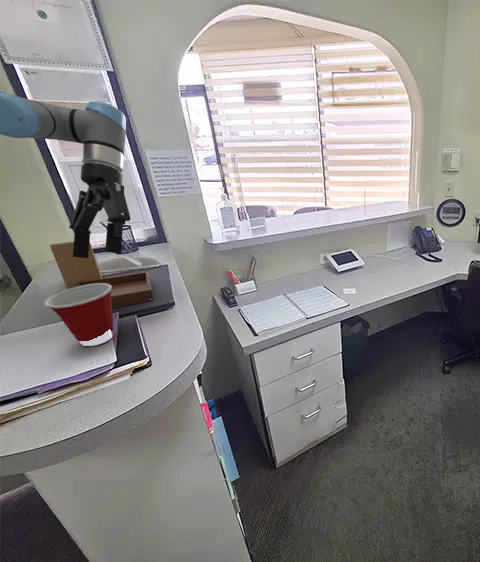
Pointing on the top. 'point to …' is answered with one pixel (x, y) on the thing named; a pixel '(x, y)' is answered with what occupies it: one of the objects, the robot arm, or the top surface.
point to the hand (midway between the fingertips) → (96, 255)
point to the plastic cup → (84, 310)
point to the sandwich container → (75, 264)
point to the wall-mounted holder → (127, 264)
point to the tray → (126, 288)
